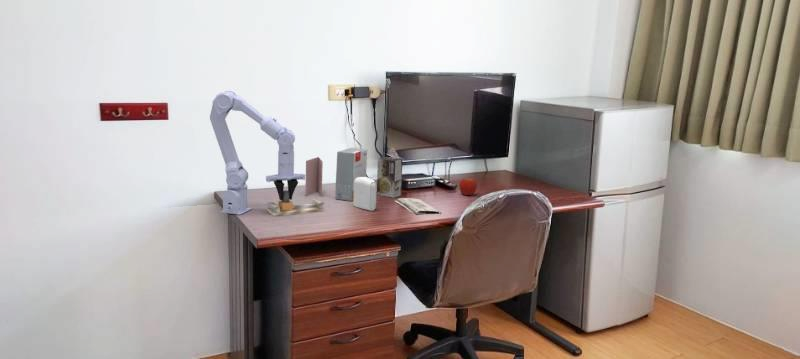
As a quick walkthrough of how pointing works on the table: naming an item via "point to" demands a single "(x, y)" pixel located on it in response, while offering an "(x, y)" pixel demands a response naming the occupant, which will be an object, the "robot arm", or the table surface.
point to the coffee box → (389, 177)
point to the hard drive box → (349, 171)
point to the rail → (296, 208)
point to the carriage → (285, 201)
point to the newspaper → (416, 205)
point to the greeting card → (313, 176)
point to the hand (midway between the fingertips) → (285, 199)
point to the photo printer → (364, 193)
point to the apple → (468, 186)
